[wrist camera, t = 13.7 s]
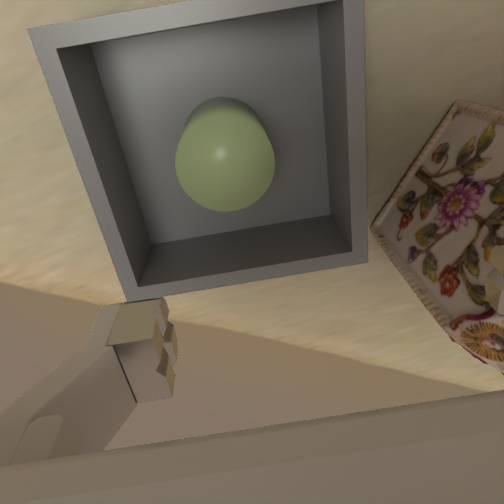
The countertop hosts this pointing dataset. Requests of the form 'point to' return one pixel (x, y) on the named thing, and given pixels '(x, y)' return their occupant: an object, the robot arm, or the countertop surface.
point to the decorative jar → (453, 226)
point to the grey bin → (174, 119)
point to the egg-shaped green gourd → (224, 155)
